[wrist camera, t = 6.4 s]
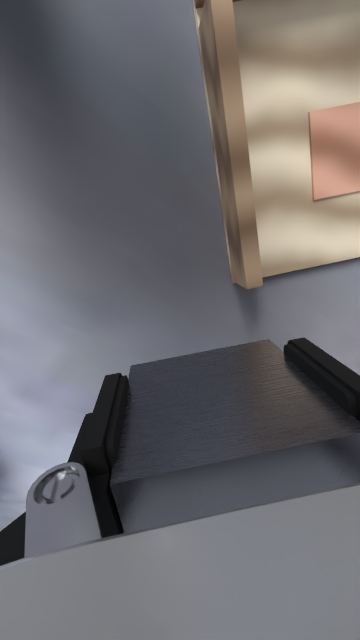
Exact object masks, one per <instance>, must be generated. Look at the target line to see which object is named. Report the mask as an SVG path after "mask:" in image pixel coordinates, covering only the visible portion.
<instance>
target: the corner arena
mask: <svg viewBox="0 0 360 640" xmlns="http://www.w3.org/2000/svg"><path fill="white" fill-rule="evenodd" d="M192 1H193V9H194V16H195V23H196V30H197V37H198V44H199V51H200V58H201V65H202V72H203V80H204V87H205V94H206V101H207V108H208V115H209V122H210V129H211V136H212V144H213V151H214V158H215V165H216V172H217V179H218V186H219V193H220V200H221V208H222V215H223V222H224V229H225V236H226V243H227V250H228V257H229V264H230V271H231V279H232V283H237V284H238V285H240V286H242V287H244V288H245V289H251V288H256V287H261V286H263V279H262V277H267V276H272V275H276V274H281V273H286V272H291V271H295V270H300V269H305V268H310V267H315V266H319V265H324V264H329V263H334V262H338V261H343V260H348V259H353V258H357V257H360V0H192Z"/></svg>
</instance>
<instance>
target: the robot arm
mask: <svg viewBox="0 0 360 640" xmlns="http://www.w3.org/2000/svg"><path fill="white" fill-rule="evenodd" d="M284 355H285V356H286V357H287V358H288V359H289V360H290V361H291V362H293V363H294V364H295V365H296V366H297V367H298V368H299V369H300V370H301V371H302V372H303V373H304V374H306V375H307V376H308V377H309V378H310V379H311V380H312V381H313V382H314V383H315V384H316V385H317V386H319V387H320V388H321V389H322V390H323V391H324V392H325V393H326V394H327V395H328V396H329V397H330V398H332V399H333V400H334V401H335V402H336V403H337V404H338V405H339V406H340V407H341V408H342V409H344V410H345V411H346V412H347V413H348V414H349V415H350V414H352V415H353V416H354V417H355V418H356V419H357V420H358V421H359V422H360V376H359V375H358V374H357V373H355V372H354V371H352V370H351V369H349V368H348V367H346V366H345V365H343V364H342V363H340V362H339V361H338V360H336V359H335V358H333V357H332V356H330V355H329V354H327V353H326V352H324V351H323V350H322V349H320V348H319V347H317V346H316V345H314V344H313V343H311V342H310V341H308V340H307V339H306V338H299V339H294V340H289V341H288V344H287V345H284ZM128 389H129V382H128V378H127V376H122V375H121V373H116V374H111V375H106V376H105V378H104V381H103V384H102V387H101V390H100V393H99V396H98V399H97V402H96V404H95V407H94V410H93V413H88V414H86V416H85V417H84V420H83V423H82V425H81V428H80V431H79V433H78V436H77V439H76V441H75V444H74V446H73V449H72V452H71V454H70V457H69V460H68V462H67V463H63V464H60V465H57V466H55V467H53V468H51V469H49V470H47V471H46V472H45V473H43V474H42V475H41V476H40V477H39V478H38V479H37V480H36V481H35V482H34V483H33V484H32V486H31V488H30V489H29V491H28V494H27V499H26V512H25V513H23V514H22V515H21V516H19V517H18V518H17V519H16V520H14V521H13V522H12V523H11V524H9V525H8V526H7V527H6V528H4V529H3V530H2V531H1V532H0V640H360V483H356V484H351V485H346V486H341V487H337V488H332V489H327V490H322V491H318V492H313V493H308V494H303V495H299V496H294V497H289V498H284V499H280V500H275V501H270V502H266V503H261V504H256V505H252V506H247V507H242V508H237V509H233V510H228V511H223V512H219V513H214V514H210V515H205V516H201V517H196V518H191V519H187V520H182V521H178V522H173V523H168V524H164V525H159V526H155V527H150V528H146V529H141V530H136V531H132V532H127V533H125V532H124V529H123V526H122V523H121V519H120V516H119V513H118V510H117V507H116V503H115V500H114V497H113V494H112V490H111V487H110V480H111V474H112V468H113V463H115V462H117V457H118V450H119V444H120V438H121V432H122V426H123V420H124V414H125V408H126V402H127V396H128Z"/></svg>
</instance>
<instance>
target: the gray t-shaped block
mask: <svg viewBox="0 0 360 640" xmlns="http://www.w3.org/2000/svg"><path fill="white" fill-rule="evenodd" d="M128 382H129V389H128V396H127V402H126V408H125V414H124V420H123V426H122V432H121V438H120V444H119V450H118V457H117V462H115V463H113V468H112V474H111V480H110V487H111V490H112V494H113V497H114V500H115V503H116V507H117V510H118V513H119V516H120V519H121V523H122V526H123V529H124V532H125V533H127V532H132V531H136V530H141V529H146V528H150V527H155V526H159V525H164V524H168V523H173V522H178V521H182V520H187V519H191V518H196V517H201V516H205V515H210V514H214V513H219V512H223V511H228V510H233V509H237V508H242V507H247V506H252V505H256V504H261V503H266V502H270V501H275V500H280V499H284V498H289V497H294V496H299V495H303V494H308V493H313V492H318V491H322V490H327V489H332V488H337V487H341V486H346V485H351V484H356V483H360V422H359V421H358V420H357V419H356V418H355V417H354V416H353V415H352V414H350V415H349V414H348V413H347V412H346V411H345V410H344V409H342V408H341V407H340V406H339V405H338V404H337V403H336V402H335V401H334V400H333V399H332V398H330V397H329V396H328V395H327V394H326V393H325V392H324V391H323V390H322V389H321V388H320V387H319V386H317V385H316V384H315V383H314V382H313V381H312V380H311V379H310V378H309V377H308V376H307V375H306V374H304V373H303V372H302V371H301V370H300V369H299V368H298V367H297V366H296V365H295V364H294V363H293V362H291V361H290V360H289V359H288V358H287V357H286V356H285V355H284V352H282V351H281V350H280V349H279V348H278V347H277V346H276V345H275V344H274V343H273V342H271V341H270V340H269V339H268V340H263V341H257V342H252V343H247V344H242V345H237V346H231V347H226V348H221V349H216V350H210V351H205V352H200V353H195V354H190V355H184V356H179V357H174V358H169V359H163V360H158V361H153V362H148V363H143V364H137V365H132V366H131V367H130V373H129V379H128Z"/></svg>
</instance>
